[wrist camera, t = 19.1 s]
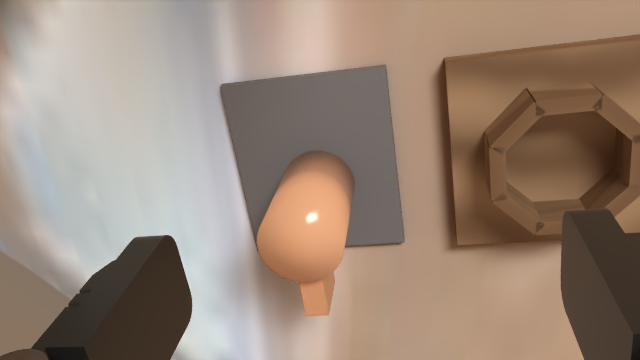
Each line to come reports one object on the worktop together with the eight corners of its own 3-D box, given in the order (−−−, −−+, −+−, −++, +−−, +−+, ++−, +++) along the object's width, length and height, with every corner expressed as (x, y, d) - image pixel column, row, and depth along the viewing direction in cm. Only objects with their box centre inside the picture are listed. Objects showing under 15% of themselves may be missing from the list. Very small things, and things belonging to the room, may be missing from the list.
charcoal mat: (222, 84, 42) (220, 86, 42) (385, 64, 40) (385, 66, 39) (259, 247, 48) (257, 251, 47) (404, 238, 46) (404, 242, 45)
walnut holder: (444, 57, 39) (448, 74, 35) (668, 31, 37) (700, 46, 33) (456, 235, 45) (460, 267, 41) (651, 223, 42) (677, 256, 38)
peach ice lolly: (277, 154, 43) (249, 209, 35) (350, 147, 42) (337, 202, 34) (297, 255, 47) (275, 326, 39) (364, 251, 46) (356, 323, 38)
